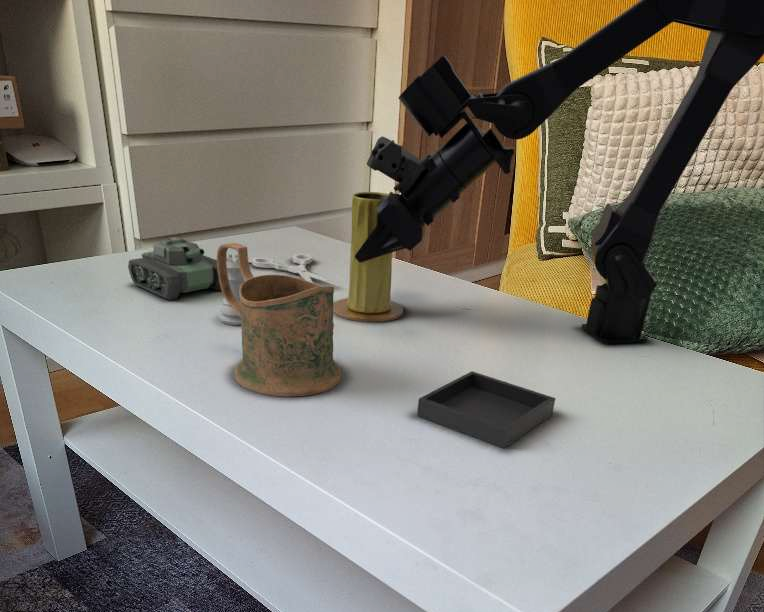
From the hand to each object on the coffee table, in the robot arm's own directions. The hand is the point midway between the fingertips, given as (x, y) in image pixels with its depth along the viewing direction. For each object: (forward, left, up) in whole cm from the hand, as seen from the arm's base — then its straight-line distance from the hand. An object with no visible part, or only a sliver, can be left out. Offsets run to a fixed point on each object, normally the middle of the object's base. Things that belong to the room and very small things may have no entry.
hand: (360, 254), depth 97 cm
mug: (+15, +18, -8) cm, 25 cm away
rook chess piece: (+17, +2, -8) cm, 19 cm away
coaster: (-1, 0, -7) cm, 8 cm away
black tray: (-4, +34, -7) cm, 36 cm away
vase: (-1, +1, -7) cm, 7 cm away
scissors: (+5, -18, -7) cm, 20 cm away
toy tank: (+23, -13, -8) cm, 27 cm away
